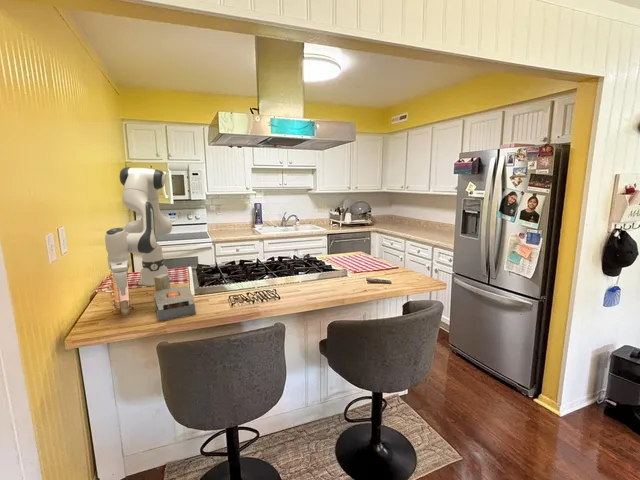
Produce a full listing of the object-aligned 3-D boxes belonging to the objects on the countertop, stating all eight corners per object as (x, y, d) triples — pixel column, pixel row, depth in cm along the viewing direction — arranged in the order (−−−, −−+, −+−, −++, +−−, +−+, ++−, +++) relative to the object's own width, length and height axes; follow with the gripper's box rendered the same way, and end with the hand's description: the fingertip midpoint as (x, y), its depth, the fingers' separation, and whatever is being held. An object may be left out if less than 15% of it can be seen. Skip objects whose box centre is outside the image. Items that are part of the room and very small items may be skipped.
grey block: (122, 313, 163) (120, 301, 162) (129, 312, 165) (127, 299, 164) (121, 316, 161) (120, 303, 159) (129, 314, 162) (127, 302, 161)
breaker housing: (155, 306, 171) (153, 291, 170) (188, 300, 179) (187, 285, 177) (158, 321, 154) (156, 304, 153) (195, 314, 162) (194, 297, 160)
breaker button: (168, 300, 167) (167, 293, 166) (178, 298, 169) (177, 291, 168) (169, 304, 163) (168, 296, 162) (179, 302, 165) (179, 294, 164)
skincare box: (165, 294, 188) (163, 273, 185) (171, 295, 186) (169, 274, 184) (155, 298, 182) (153, 276, 179) (162, 299, 180) (159, 277, 178)
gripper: (112, 260, 165) (116, 287, 167) (111, 269, 147) (115, 300, 150) (127, 258, 168) (130, 285, 170) (127, 267, 150) (131, 297, 153)
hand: (123, 292), depth 160 cm, fingers open, 8 cm apart
